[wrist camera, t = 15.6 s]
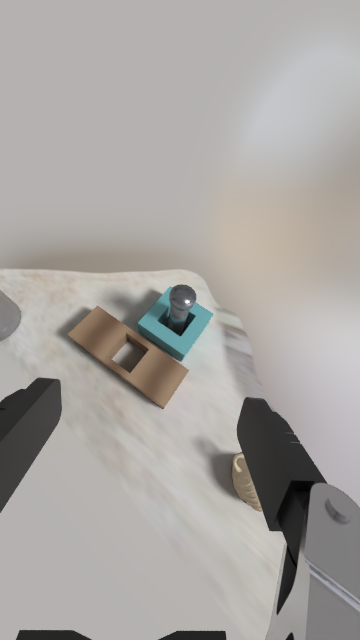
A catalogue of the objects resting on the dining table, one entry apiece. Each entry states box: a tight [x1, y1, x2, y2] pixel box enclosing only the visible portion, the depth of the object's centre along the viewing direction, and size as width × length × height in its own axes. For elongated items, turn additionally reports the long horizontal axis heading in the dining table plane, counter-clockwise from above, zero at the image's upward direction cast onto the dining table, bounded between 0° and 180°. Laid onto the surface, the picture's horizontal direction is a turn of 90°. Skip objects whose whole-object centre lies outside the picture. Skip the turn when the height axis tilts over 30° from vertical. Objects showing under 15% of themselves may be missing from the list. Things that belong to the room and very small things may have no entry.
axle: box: [167, 285, 196, 335], centre depth 37 cm, size 4×4×12 cm
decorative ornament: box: [232, 453, 263, 512], centre depth 31 cm, size 4×8×5 cm, turn 25°
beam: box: [67, 306, 189, 409], centre depth 37 cm, size 20×7×4 cm, turn 56°
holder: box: [138, 286, 213, 362], centre depth 41 cm, size 10×10×4 cm
